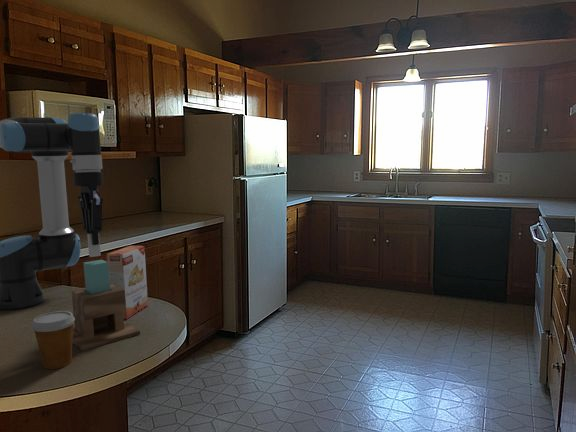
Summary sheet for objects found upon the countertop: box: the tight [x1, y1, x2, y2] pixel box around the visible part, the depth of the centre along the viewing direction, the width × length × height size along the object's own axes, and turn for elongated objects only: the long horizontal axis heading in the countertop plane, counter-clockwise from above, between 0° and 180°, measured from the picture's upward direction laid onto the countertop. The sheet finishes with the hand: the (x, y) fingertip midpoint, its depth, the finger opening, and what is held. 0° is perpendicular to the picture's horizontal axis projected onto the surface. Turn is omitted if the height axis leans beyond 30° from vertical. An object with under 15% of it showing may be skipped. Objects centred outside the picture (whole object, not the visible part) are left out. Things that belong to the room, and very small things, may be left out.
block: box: [83, 259, 110, 295], centre depth 134 cm, size 5×5×12 cm
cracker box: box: [106, 245, 149, 320], centre depth 153 cm, size 14×6×21 cm, turn 168°
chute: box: [71, 283, 141, 352], centre depth 135 cm, size 16×16×13 cm
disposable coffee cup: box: [31, 310, 75, 370], centre depth 116 cm, size 10×10×12 cm
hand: (95, 255), depth 133 cm, fingers closed
